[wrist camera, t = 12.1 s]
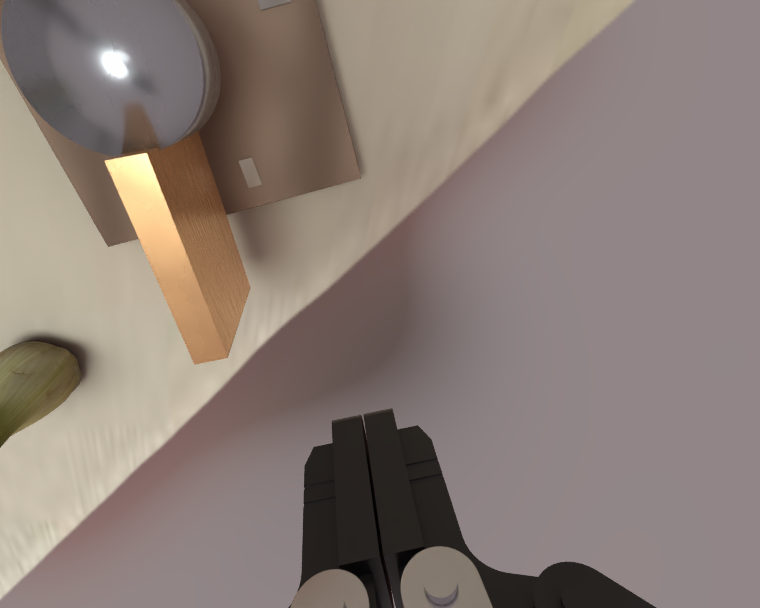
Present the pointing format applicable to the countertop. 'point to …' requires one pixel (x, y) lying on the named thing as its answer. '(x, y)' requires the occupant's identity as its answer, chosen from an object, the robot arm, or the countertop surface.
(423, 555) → the robot arm
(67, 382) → the fennel bulb
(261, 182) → the post block
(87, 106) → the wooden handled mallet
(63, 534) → the countertop surface
